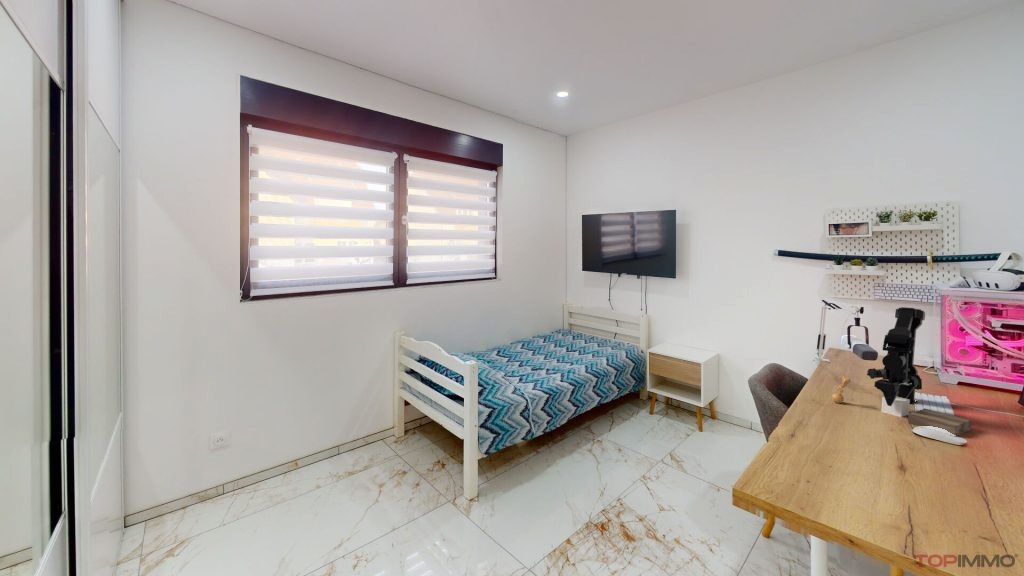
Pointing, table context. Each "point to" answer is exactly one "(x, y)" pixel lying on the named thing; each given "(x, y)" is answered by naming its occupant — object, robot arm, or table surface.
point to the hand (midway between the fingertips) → (895, 403)
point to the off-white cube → (896, 407)
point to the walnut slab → (940, 421)
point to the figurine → (837, 396)
